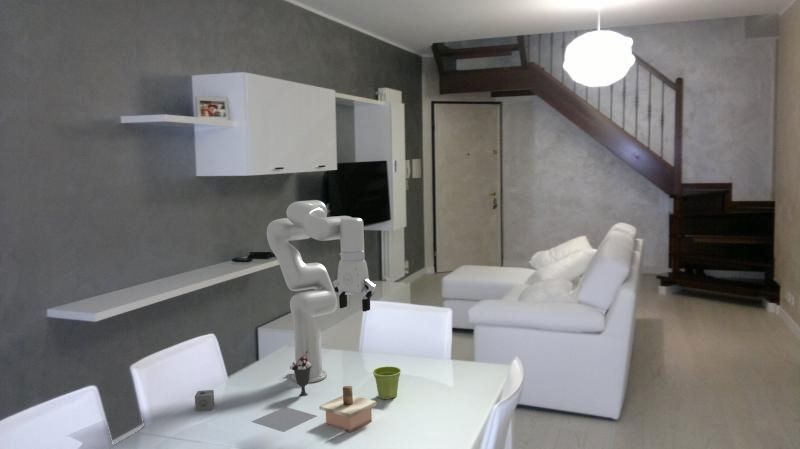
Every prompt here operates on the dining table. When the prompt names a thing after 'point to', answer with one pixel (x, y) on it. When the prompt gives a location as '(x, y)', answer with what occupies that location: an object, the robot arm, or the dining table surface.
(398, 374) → the plant pot
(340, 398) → the wooden lid with knob
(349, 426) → the salmon pink open box
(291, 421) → the mat
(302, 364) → the sundae
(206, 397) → the dice cube
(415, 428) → the dining table surface
